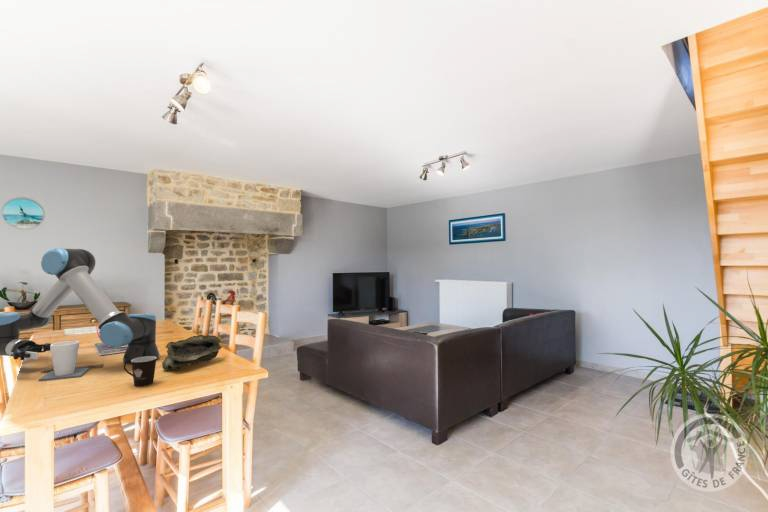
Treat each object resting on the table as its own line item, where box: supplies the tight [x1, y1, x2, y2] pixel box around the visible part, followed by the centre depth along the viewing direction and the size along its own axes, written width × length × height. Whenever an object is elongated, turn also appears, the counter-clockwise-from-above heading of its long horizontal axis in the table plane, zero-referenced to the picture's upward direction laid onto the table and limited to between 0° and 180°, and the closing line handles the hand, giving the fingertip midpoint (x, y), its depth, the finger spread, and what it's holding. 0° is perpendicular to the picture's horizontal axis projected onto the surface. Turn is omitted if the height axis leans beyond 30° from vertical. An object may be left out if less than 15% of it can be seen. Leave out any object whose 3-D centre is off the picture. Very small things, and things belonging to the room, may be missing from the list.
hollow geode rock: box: [161, 334, 223, 372], centre depth 175 cm, size 28×13×15 cm
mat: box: [38, 367, 92, 382], centre depth 158 cm, size 14×12×1 cm
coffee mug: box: [123, 356, 157, 388], centre depth 148 cm, size 12×9×10 cm
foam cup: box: [49, 340, 80, 376], centre depth 158 cm, size 10×9×13 cm
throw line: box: [40, 363, 104, 374], centre depth 166 cm, size 22×2×1 cm, turn 113°
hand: (55, 352), depth 159 cm, fingers open, 13 cm apart
